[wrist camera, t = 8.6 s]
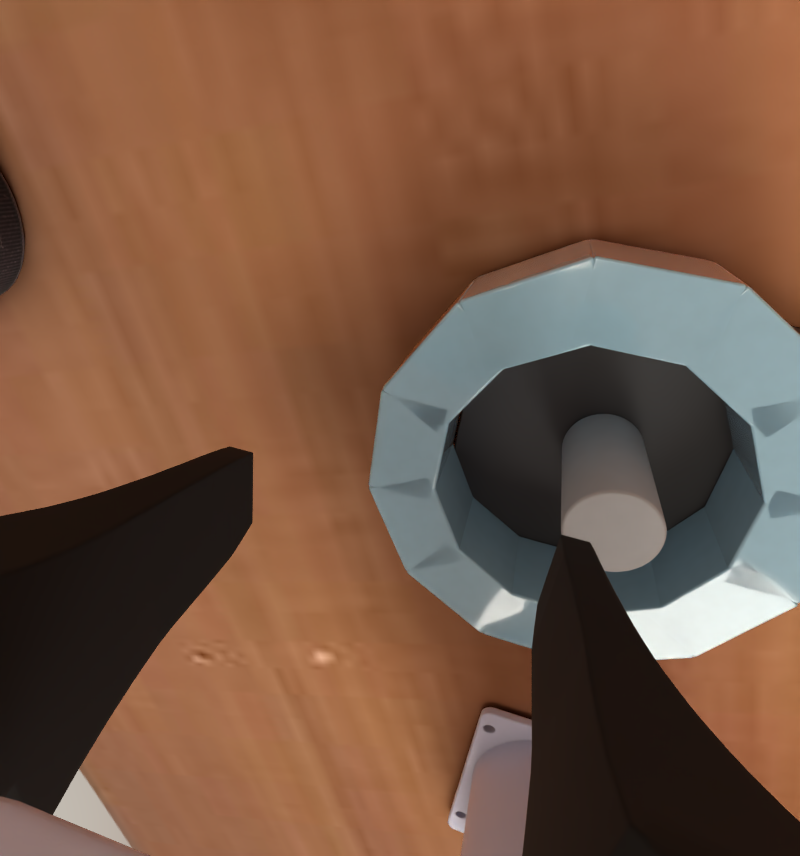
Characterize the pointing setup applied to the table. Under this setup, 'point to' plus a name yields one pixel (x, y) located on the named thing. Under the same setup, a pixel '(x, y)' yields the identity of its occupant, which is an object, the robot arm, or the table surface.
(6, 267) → the camera lens
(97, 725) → the robot arm
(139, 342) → the table surface
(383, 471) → the ring
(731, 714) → the table surface
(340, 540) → the table surface
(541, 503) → the stand
